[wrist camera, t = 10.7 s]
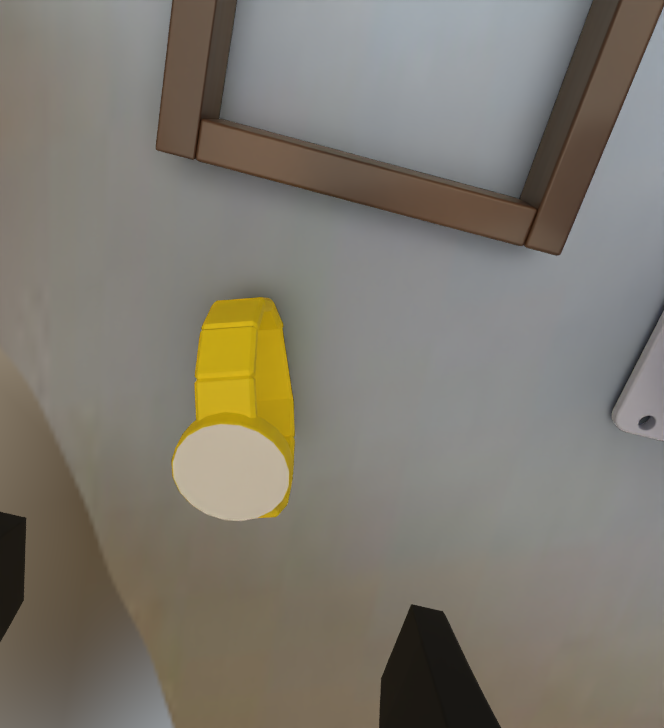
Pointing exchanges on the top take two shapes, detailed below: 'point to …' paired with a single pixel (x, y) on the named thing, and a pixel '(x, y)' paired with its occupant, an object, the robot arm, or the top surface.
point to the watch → (239, 415)
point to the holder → (397, 184)
